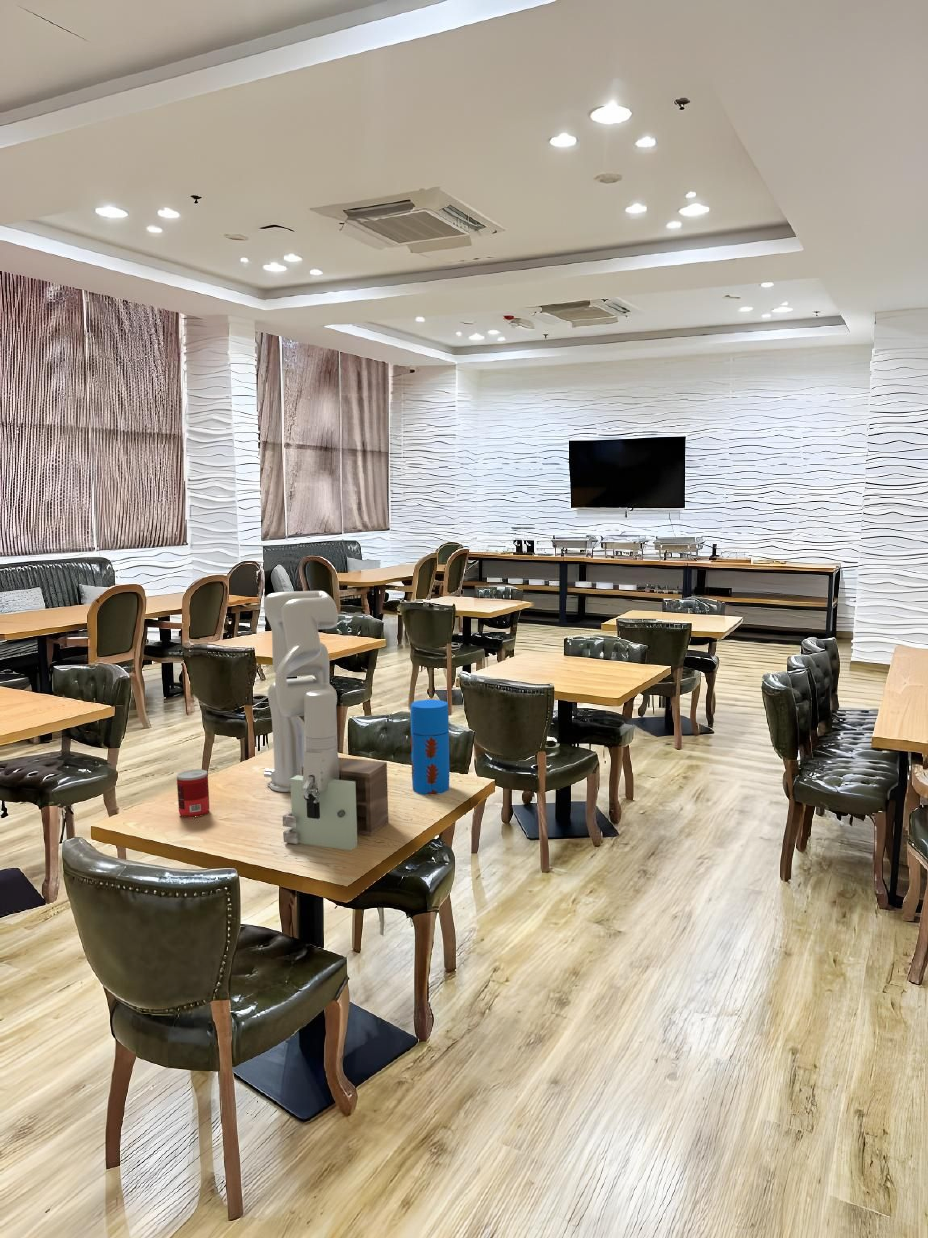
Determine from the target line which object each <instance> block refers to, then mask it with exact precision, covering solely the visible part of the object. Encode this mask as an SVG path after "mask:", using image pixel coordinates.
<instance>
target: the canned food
mask: <svg viewBox="0 0 928 1238" xmlns="http://www.w3.org/2000/svg"><path fill="white" fill-rule="evenodd" d="M208 774H209V773H208V771H207V770H205V769H202V768H201V769H199V768H197V769H193V768H192V769H188V770H184V771H180V772H179V773H177V775H176V786H177V788H176V789H177V801H178V802H177V805H178V813H179V816H180V815H181V816H180V817H182V816H185V817H195V816H200V815H203V816H205V815H207V814H208V813H209V812H210V795H209V793H210V791H209V790H210V789H209V776H208ZM185 817H184V818H185ZM200 817H201V816H200ZM195 818H196V817H195Z"/></svg>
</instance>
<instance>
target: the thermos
mask: <svg viewBox="0 0 928 1238" xmlns="http://www.w3.org/2000/svg"><path fill="white" fill-rule="evenodd" d="M409 711H410V746H411V747H410V749H411V751H410V753H411V758H410V759H411V779H412V780H411V781H412V791H413V792H414V793H417V794H421V795H426V794H429V796H431V795H430V794H434V795H438V794H443V793H446V792H447V791H449V789H450V732H449V731H450V730H449V729H450V728H449V727H450V724H449V723H450V722H449V720H450V719H449V715H450V714H449V704H448V702H447V701H446V700H440V699H421V700H417V701H412V703H411V704H410V710H409Z"/></svg>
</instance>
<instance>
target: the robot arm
mask: <svg viewBox="0 0 928 1238" xmlns="http://www.w3.org/2000/svg"><path fill="white" fill-rule="evenodd" d="M263 611H264V613H265V617H266V618H267V622H268V623H269V627H270V628H271V629H270V630H271V640H272V641H271V642H272V644H271V645H272V650H271V651H272V652H271V653H272V666H273V667H272V669H273V672H274V673H275V675H274V677H275V678H274V682H272V683H270V684H269V687H268V689H267V698H268V704H269V708H270V714H271V725H272V743H273V744H272V745H273V747H272V748H273V766H274V767H273V769H272V768H265V769H264V773H263V777H264V778H271V781H270V782H269V788H270V789H271V790H273V791H275V792H281V793H291V784H290V779H291V778H293V777H295V776H296V775H299V776H302V766H303V788H302V792H303V795H304V799H305V802H307V817H308V818H313V819H319V818H320V802H318V799H319V796H320V793H321V792H323V791H325V790H326V789H328V783H329V782H331V781H332V780H334V779H336V780H341V770H342V768H341V767H339V760H338V757H339V752H338V731H337V730H338V727H337V726H338V723H337V704H338V695H337V691H336V689H335V688H334V686H332V684H330V656H329V655H330V653H329V650H328V648H327V646H326V644H324V643H323V642H321V640H320V635H319V630H326V629H327V630H329V629H333V628H335V627H336V626H337V624H338V622H339V612H338V608H337V605H336V603H335V600H334V599H333V598H332V596H331V595H330V594H328V593H327V592H326V591H324V590H305V591H304V590H302V591H301V590H300V591H298V590H296V591H280V592H272V593H269V594H267V595H266V596H265V598H264V600H263ZM306 676H308V677H306ZM309 676H310V677H309ZM293 677H297V678H293ZM301 717H304V720H303V719H302V718H301ZM313 788H318V789H313ZM312 793H316V794H315V797H314V796H313V795H312Z"/></svg>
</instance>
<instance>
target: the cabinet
mask: <svg viewBox="0 0 928 1238" xmlns="http://www.w3.org/2000/svg"><path fill="white" fill-rule="evenodd" d="M338 760H339V767H341V768H342V770H341V780H345V781H354V782H355V785H356V817H357V836H358V835H360V836H365V837H367V836H368V837H372V836H373V835H374V834H376V833H377V832H378V831H380V830H381V829H382V828H383V827H385V826H386V825H387V824H388V823H389V799H388V797H389V794H388V790H389V789H388V763H387V761H379V760H377V761H376V760H371V759H370V760H368V759H360V758H359V759H358V758H350V757H348V758H347V757H339V756H338ZM302 776H303V766H302ZM386 823H387V824H386ZM282 826H283V827H287V829H286V830H284V831H283V833H282V834H283V836H282V837H283V842H284V843H289V844H295V845H296V844H299V843H298V833H297V832H292V827H293V828H297V827H298V822H297V817H295V816H292V810H290V811H289V812H287V813H285V814H284V815H282ZM381 827H382V828H381ZM380 828H381V829H380Z"/></svg>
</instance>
